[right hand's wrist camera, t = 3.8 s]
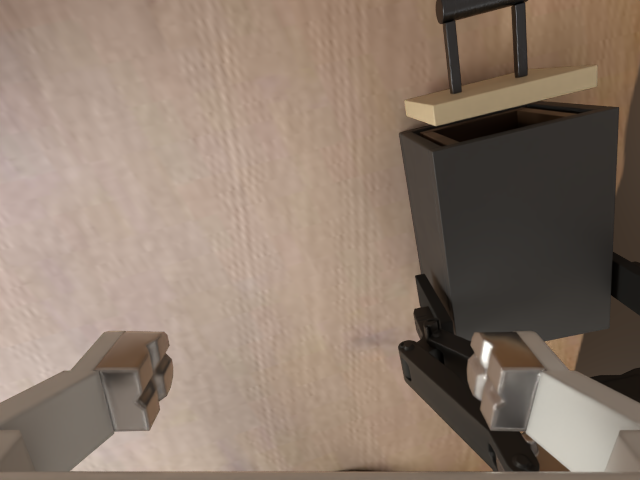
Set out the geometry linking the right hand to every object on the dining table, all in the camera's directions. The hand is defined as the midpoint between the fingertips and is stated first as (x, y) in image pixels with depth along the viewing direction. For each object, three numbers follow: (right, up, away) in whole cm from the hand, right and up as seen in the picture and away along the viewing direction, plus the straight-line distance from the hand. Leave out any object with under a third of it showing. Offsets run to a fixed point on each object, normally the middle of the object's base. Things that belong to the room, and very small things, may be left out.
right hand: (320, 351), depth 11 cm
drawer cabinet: (+13, +6, +23) cm, 27 cm away
